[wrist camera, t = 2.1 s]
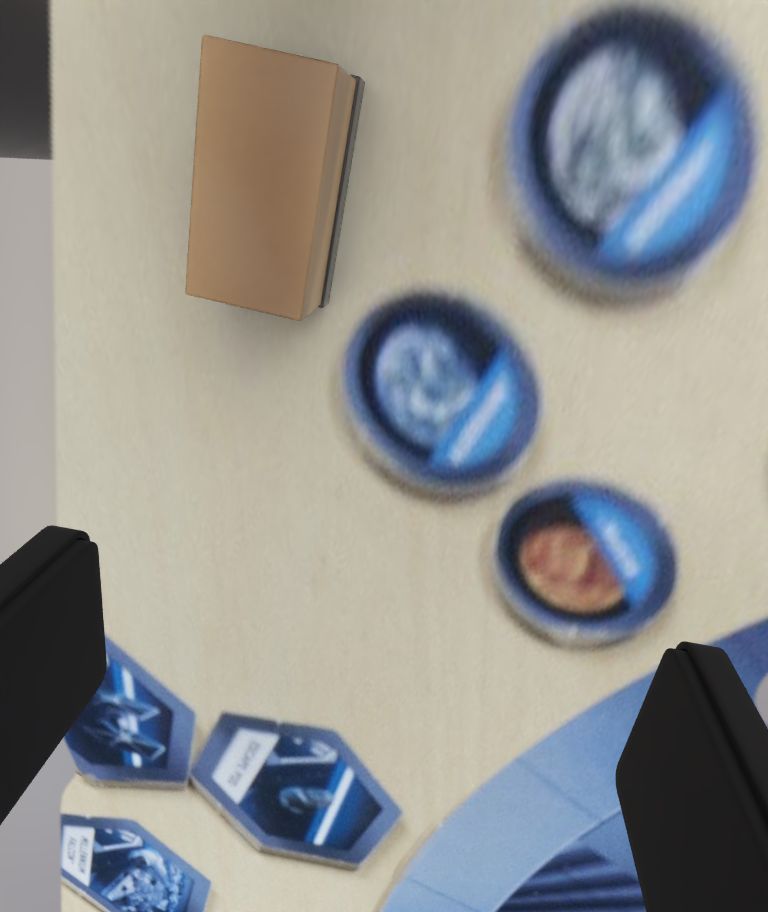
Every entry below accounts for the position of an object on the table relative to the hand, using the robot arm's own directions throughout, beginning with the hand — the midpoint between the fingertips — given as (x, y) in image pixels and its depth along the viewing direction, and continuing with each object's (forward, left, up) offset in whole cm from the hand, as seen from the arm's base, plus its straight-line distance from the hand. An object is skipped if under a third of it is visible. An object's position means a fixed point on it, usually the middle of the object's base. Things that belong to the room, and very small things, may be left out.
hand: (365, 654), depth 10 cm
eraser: (-9, -1, -16) cm, 18 cm away
